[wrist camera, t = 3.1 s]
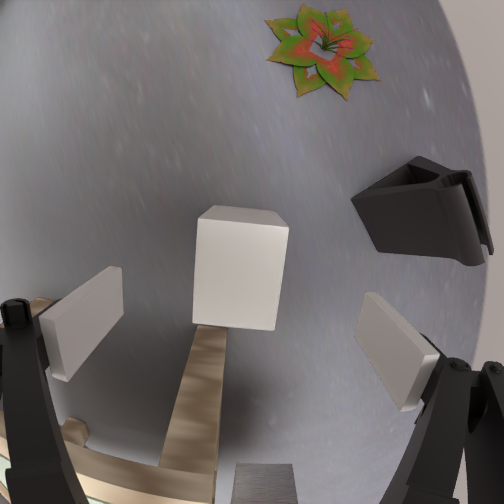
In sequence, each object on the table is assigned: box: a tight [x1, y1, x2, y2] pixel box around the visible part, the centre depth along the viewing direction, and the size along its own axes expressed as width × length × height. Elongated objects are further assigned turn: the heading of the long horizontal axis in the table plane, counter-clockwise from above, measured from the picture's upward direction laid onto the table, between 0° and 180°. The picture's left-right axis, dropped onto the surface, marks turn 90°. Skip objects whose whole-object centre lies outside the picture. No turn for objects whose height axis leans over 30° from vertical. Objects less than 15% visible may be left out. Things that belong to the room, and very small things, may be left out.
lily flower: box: [264, 4, 381, 101], centre depth 21 cm, size 12×12×5 cm
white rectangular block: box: [193, 205, 289, 331], centre depth 23 cm, size 6×7×9 cm
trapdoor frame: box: [0, 297, 228, 504], centre depth 22 cm, size 23×23×20 cm
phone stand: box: [352, 156, 494, 266], centre depth 21 cm, size 9×6×12 cm, turn 122°
